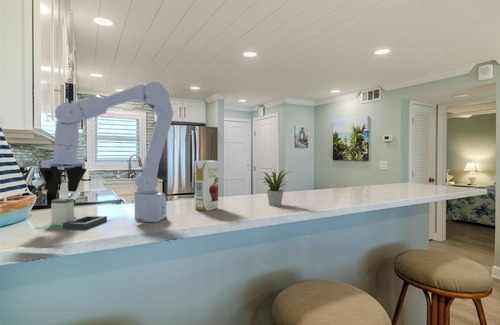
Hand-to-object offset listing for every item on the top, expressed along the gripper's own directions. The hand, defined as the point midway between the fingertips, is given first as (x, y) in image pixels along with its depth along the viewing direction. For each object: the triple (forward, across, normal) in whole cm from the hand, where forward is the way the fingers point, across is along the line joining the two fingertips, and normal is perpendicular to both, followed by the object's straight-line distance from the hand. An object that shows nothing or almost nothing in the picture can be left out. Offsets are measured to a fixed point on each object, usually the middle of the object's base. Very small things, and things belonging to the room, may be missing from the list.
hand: (62, 192), depth 82 cm
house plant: (+5, -45, +63) cm, 78 cm away
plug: (+9, 0, +1) cm, 9 cm away
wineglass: (+10, -12, -6) cm, 17 cm away
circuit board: (+10, 0, +5) cm, 11 cm away
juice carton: (+7, -32, +35) cm, 48 cm away
